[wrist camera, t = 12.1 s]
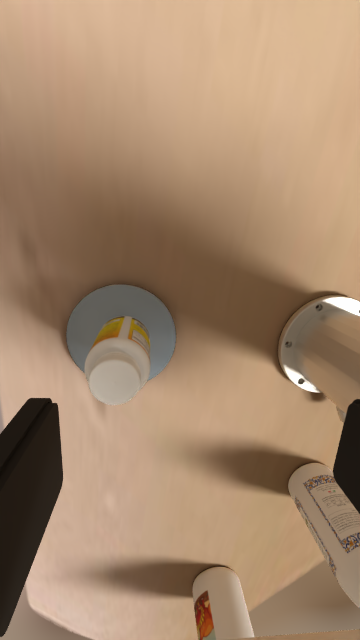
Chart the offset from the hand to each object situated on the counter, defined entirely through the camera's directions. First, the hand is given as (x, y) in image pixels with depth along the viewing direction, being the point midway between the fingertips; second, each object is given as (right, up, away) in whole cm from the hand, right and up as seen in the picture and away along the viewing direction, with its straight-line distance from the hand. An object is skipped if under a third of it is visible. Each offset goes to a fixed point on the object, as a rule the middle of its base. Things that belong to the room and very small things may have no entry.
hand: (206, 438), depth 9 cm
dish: (-7, +2, +24) cm, 25 cm away
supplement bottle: (-7, +2, +23) cm, 24 cm away
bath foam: (+18, -20, +33) cm, 43 cm away
